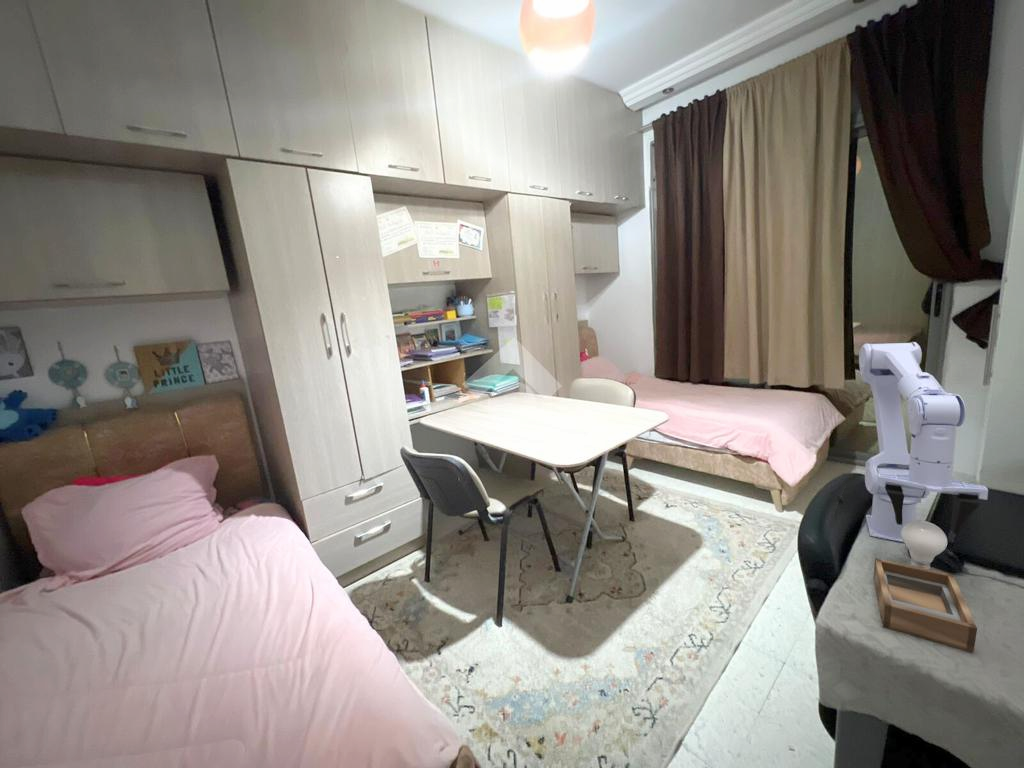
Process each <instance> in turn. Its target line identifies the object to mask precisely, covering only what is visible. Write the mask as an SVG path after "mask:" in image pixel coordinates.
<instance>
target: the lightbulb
mask: <svg viewBox="0 0 1024 768" xmlns="http://www.w3.org/2000/svg"><path fill="white" fill-rule="evenodd" d="M901 537H902V540H903V542H902V543H904V545H905V547H906V548H907V549H908V552H909V555H910V556H909V557H911V558H910V566H915V567H920V568H924V569H929V570H931V569H930V568H931V563H932V562H933V561H934V559H935V557H937V556H938V555H940V554H941V553H942V552H944V551H945V550H946V548H947V545H948V538H947V535H946V534H945V532H944V531H943V530H942V528H940V527H939V526H937V525H936V524H935V523H931V522H930V521H927V520H921V519H920V520H916V519H915V521H911V522H908V523H907V524H905V525H904V526H903V528H902V530H901Z"/></svg>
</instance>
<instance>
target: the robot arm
mask: <svg viewBox="0 0 1024 768" xmlns="http://www.w3.org/2000/svg"><path fill="white" fill-rule="evenodd" d="M858 354H859V355H858V364H859V366H858V367H859V374H860V376H861V381H862V382H865V383H867V384H868V385H870V389H871V393H872V399H873V406H874V407H873V408H874V416H875V424H876V434H877V441H878V448H879V453H877V454H876V455H873V456H871V457H870V458H869V459H867V460H866V463H864V465H865V471H864V472H865V473H864V483H865V487H866V490H867V491H868V492H869V493H870V494H871V495H872V505H871V514H866V515H865V520H866V522H867V527H868V532H869V536H871V537H874V538H880V539H884V540H890V541H895V542H900V543H904V542H903V540H902V537H901V530H902V528H903V526H904V525H905V524H907V523H908V522H911V521H916V513H917V505H918V504H921V502H922V500H924V499H926V498H927V497H929V495H930V494H931V493H939V494H947V495H952V512H951V513H952V514H951V519H950V530H951V531H952V533H953V534H954V535H959V534H960V532H961V530H962V527H963V525H964V524H965V522H966V521H967V519H968V518H969V516H971V514H972V513H973V512H975V511H976V510H977V509H978V508H979V507H980V504H981V502H980V500H985V501H986V500H988V497H989V496H988V495H989V489H988V488H987V487H986V486H985V485H983V484H982V485H980V484H974V483H968V482H962V481H957V480H953V470H954V462H955V461H954V459H955V447H956V434H957V427H961V426H962V425H963V424H964V422H965V421H966V416H967V415H966V414H967V411H966V404H965V402H964V399H963V397H962V396H961V395H960V394H957V393H956V394H955V393H952V392H947V391H945V389H944V388H943V386H942V385H941V384H940V383H939V382H938V380H937V379H936V378H935V377H934V375H932V374H931V373H928V372H924V371H922V369H921V367H920V364H921V363H922V360H923V359H922V357H923V355H922V354H923V352H922V349H921V346H920V345H919V344H918V343H917V341H910V342H898V343H897V342H893V343H864V344H863V345H862V346H861V347H860V350H859V353H858ZM901 396H902V398H903V399H904V401H905V403H906V404H907V405H906V406H907V407H906V413H907V419H908V432H910V434H911V436H910V437H911V439H910V453H909V450H908V443H907V437H906V436H907V435H906V428H905V421H904V416H903V415H904V414H903V407H902V400H901Z"/></svg>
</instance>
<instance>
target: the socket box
mask: <svg viewBox="0 0 1024 768" xmlns="http://www.w3.org/2000/svg"><path fill="white" fill-rule="evenodd" d="M873 565H874V567H873V577H872V580H873V584H874V589H875V594H876V600H877V604H878V609H880V610H879V614H881V615H880V619H882V620H881V625H882V624H883V625H882V628H884V629H887V630H892V631H894V632H897V633H902V634H904V635H908V636H912V637H915V638H919V639H921V640H922V639H923V640H927V641H930V642H934V643H937V644H940V645H943V646H947V647H952V648H955V649H957V650H961V651H965V652H968V653H971V654H974V652H975V644H976V639H977V633H978V627H977V625H976V623H975V620H974V618H973V617H972V614H971V612H970V609H969V607H968V605H967V603H966V601H965V599H964V596H963V594H962V592H961V589H960V587H959V585H958V583H957V581H956V579H955V576H954V574H951V573H947V572H942V571H939V570H933V569H924V568H920V567H915V566H911V564H910V565H909V564H905V563H900V562H897V561H891V560H887V559H883V558H882V559H881V558H877V557H875V558H874V564H873Z"/></svg>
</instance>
